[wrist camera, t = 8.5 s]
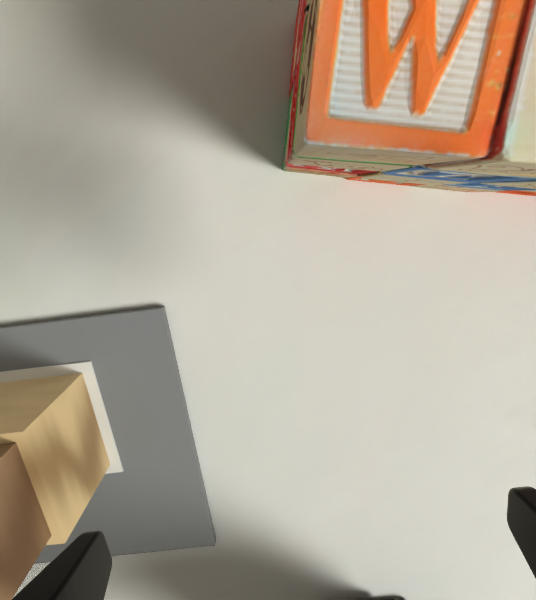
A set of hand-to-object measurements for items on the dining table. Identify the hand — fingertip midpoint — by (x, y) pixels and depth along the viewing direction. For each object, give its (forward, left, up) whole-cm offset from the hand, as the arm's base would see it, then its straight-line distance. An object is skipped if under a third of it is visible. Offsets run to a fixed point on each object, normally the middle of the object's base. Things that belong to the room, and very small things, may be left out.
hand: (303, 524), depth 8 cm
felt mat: (-6, +12, -12) cm, 18 cm away
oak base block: (-4, +14, -12) cm, 19 cm away
